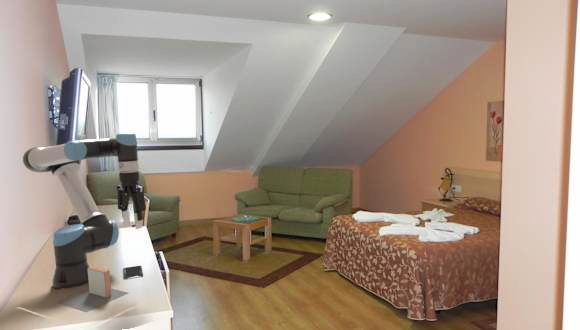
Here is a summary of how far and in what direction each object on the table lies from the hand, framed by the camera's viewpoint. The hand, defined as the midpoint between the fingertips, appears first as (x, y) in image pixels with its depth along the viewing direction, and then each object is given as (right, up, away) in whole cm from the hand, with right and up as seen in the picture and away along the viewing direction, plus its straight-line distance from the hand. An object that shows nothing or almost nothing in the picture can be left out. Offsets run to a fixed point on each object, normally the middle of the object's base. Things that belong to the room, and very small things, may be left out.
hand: (133, 227), depth 174 cm
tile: (-8, -24, -12) cm, 28 cm away
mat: (-10, -25, -14) cm, 30 cm away
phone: (-4, -23, +12) cm, 26 cm away
